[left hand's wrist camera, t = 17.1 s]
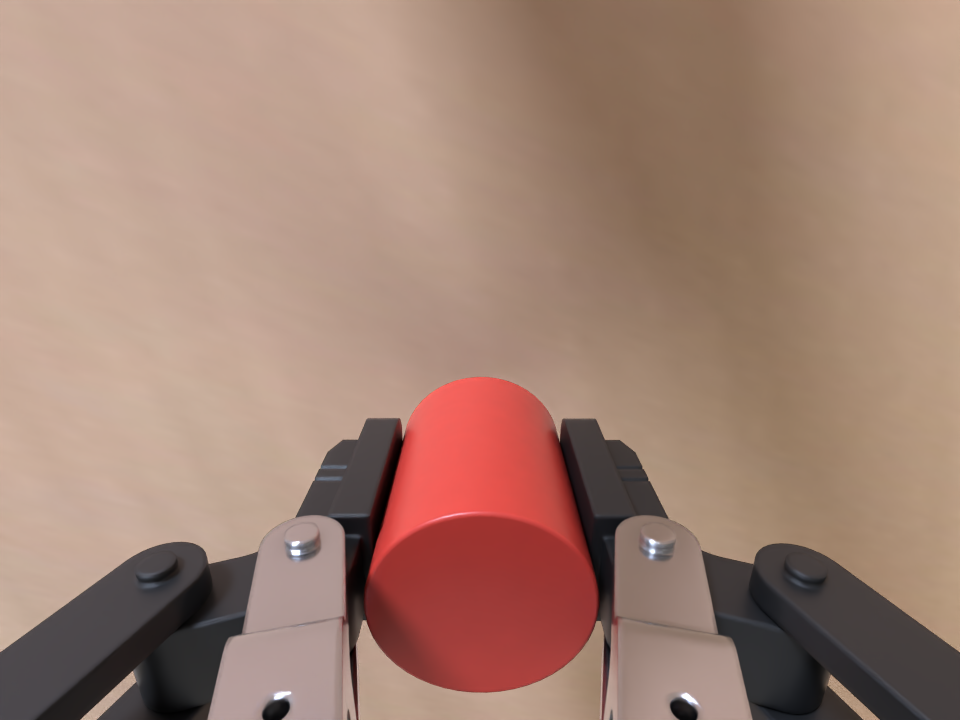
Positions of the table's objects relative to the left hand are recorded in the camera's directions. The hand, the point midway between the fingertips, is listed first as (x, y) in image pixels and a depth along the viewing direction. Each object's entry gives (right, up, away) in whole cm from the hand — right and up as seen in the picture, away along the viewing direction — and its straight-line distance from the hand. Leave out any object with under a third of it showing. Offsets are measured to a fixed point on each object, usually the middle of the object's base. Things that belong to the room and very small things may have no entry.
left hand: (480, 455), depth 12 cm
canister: (0, 0, 0) cm, 1 cm away
